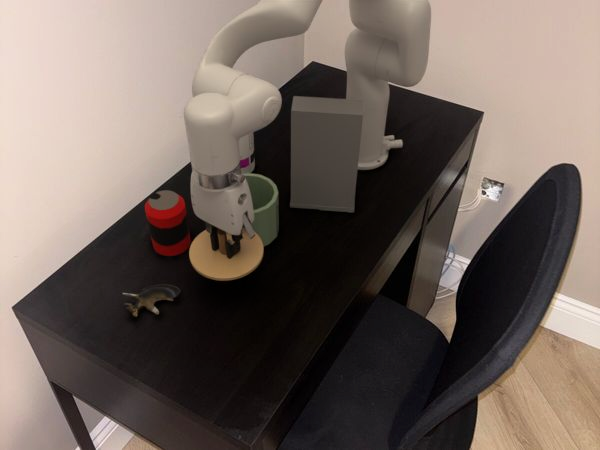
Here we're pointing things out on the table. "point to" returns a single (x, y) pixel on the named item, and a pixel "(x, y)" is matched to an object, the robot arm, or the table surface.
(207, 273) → the lid
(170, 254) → the soda can
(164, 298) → the eagle figurine
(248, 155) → the supplement can
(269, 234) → the canister
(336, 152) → the tall grey box
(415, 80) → the robot arm
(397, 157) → the table surface
